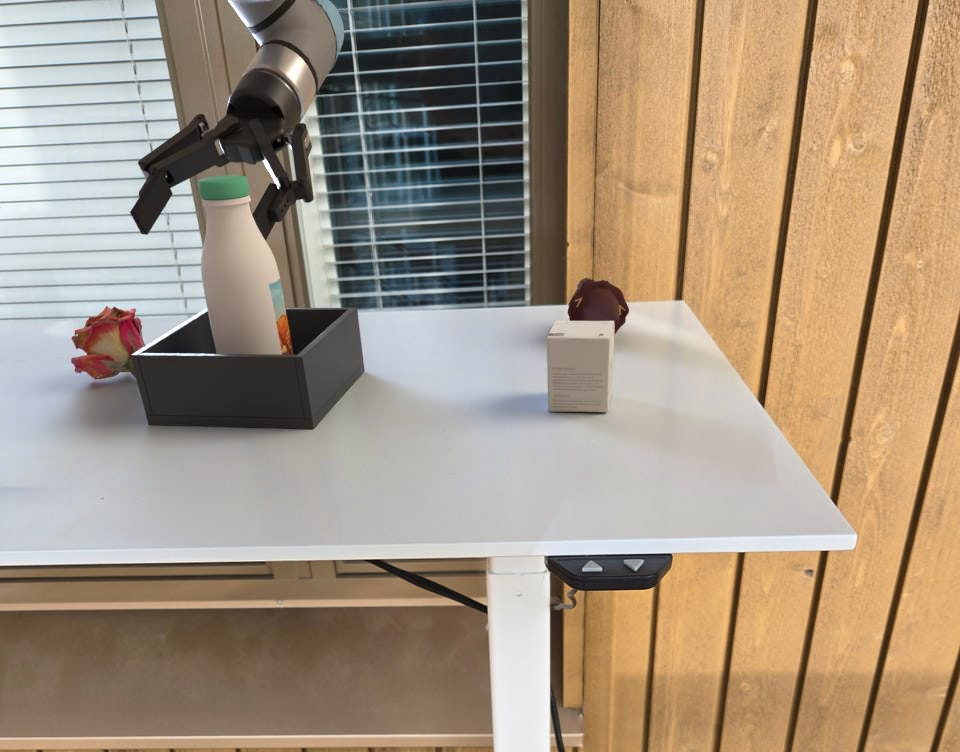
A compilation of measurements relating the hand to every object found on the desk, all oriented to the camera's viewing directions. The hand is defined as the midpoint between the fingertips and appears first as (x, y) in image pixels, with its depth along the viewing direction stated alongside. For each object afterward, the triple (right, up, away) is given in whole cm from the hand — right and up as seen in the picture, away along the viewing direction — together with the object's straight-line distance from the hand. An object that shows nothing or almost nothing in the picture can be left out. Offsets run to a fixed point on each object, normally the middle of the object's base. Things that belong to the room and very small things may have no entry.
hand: (195, 230), depth 92 cm
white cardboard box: (+40, -19, -3) cm, 44 cm away
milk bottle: (+7, -16, +2) cm, 17 cm away
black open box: (+6, -17, +2) cm, 18 cm away
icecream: (+44, -7, +14) cm, 47 cm away
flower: (-12, -13, +10) cm, 20 cm away
